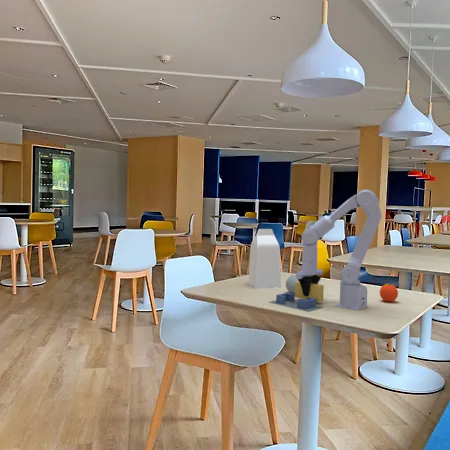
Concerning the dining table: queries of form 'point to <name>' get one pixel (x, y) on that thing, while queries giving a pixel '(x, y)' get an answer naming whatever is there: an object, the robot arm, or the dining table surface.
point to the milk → (264, 261)
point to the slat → (315, 291)
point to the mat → (294, 305)
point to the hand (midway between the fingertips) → (308, 295)
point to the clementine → (388, 292)
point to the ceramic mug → (291, 283)
